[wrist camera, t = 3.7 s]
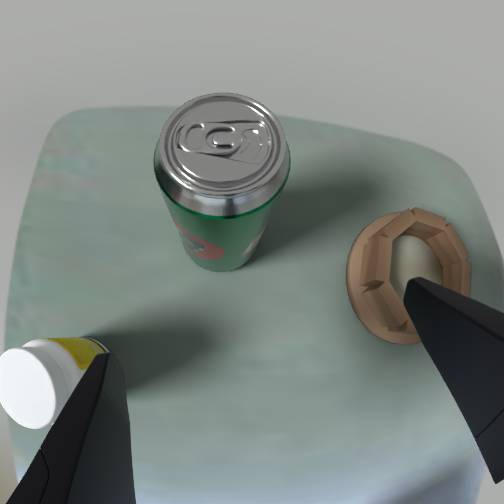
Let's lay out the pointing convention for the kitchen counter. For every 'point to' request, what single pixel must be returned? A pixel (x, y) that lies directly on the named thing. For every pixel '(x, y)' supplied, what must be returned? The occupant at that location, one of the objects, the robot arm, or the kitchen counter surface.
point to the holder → (402, 269)
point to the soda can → (221, 176)
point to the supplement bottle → (43, 377)
